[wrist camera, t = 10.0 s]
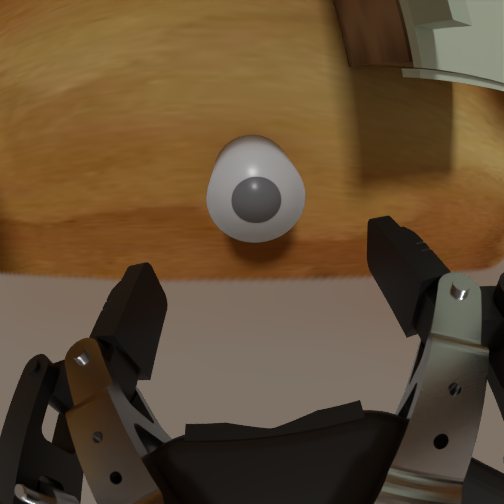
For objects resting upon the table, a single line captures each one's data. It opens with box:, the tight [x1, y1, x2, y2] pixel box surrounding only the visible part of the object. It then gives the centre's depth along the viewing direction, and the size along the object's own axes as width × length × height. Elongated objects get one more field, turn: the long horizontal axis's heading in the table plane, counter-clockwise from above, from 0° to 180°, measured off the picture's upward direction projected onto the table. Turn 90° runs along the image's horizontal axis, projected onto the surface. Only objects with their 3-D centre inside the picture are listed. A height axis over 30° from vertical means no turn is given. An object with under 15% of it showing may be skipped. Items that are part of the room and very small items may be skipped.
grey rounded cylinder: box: [207, 135, 305, 243], centre depth 15 cm, size 5×5×5 cm
